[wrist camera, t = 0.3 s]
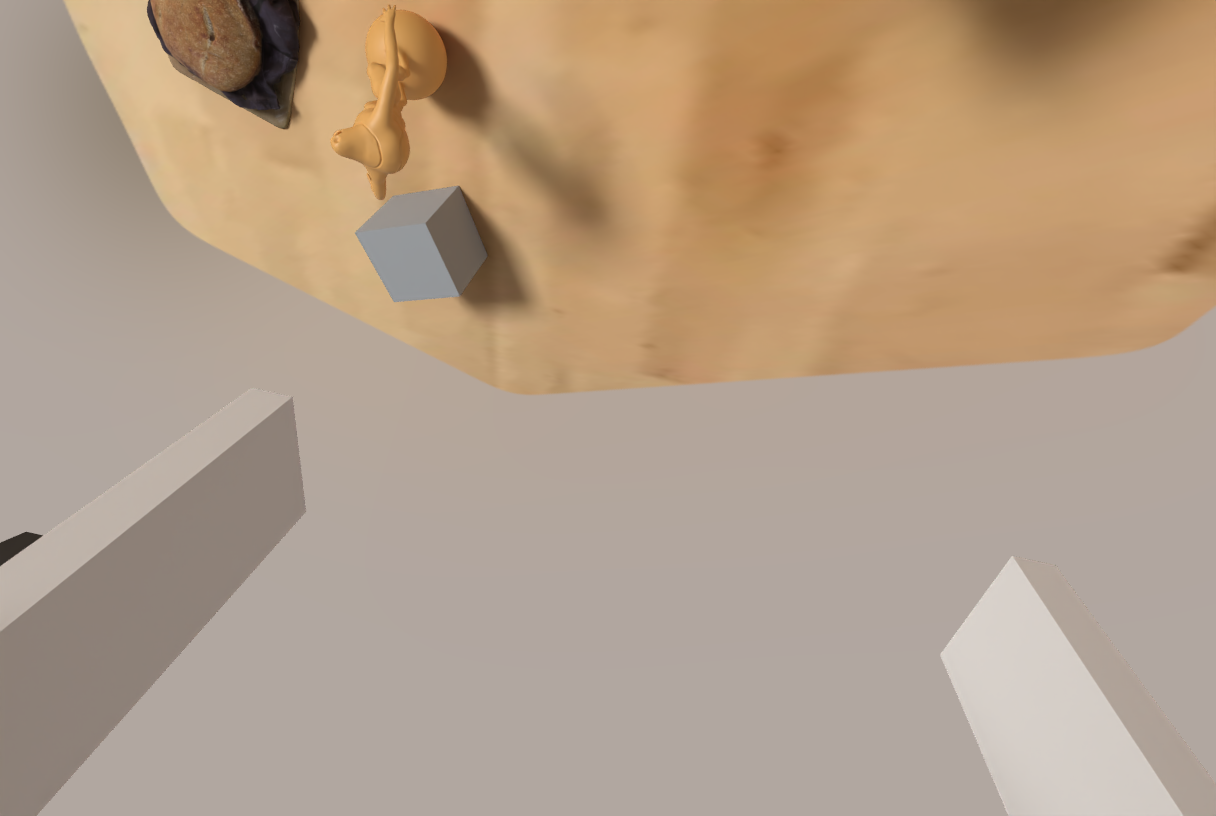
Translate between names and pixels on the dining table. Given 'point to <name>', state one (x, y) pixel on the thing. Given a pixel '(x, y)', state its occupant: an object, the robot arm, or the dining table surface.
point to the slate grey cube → (424, 244)
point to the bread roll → (235, 49)
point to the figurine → (392, 92)
